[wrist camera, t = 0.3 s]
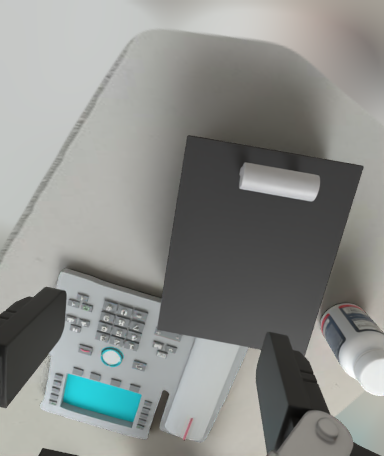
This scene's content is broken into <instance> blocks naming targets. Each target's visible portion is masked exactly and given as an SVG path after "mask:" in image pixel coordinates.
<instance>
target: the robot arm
mask: <svg viewBox="0 0 384 456" xmlns="http://www.w3.org/2000/svg"><path fill="white" fill-rule="evenodd" d="M66 300H67V293H66V291H65V290H60V289H55V288H50V287H45V288H44V289H42V290H41V291H40V292H39V293H38V294H37V295H35V296H34V297H26V298H24V299H22V300H19V301H17V302H15V303H14V304H13V305H11V306H10V307H9V308H8V309H6V311H4V312H3V313H1V314H0V407H3V408H7V406H8V405H9V404H10V403H11V401H12V400H13V399H14V397H15V396H16V395H17V394H18V392H19V391H20V390H21V388H22V387H23V386H24V385H25V383H26V382H27V381H28V380H29V378H30V377H31V376H32V374H33V373H34V372H35V371H36V369H37V368H38V367H39V366H40V364H41V363H42V362H43V360H44V359H45V358H46V357H47V355H48V354H49V353H50V351H51V350H52V349H53V348H54V346H55V345H56V344H57V343H58V341H59V340H60V338H61V336H62V333H63V330H64V326H65V314H66ZM256 385H257V391H258V398H259V404H260V411H261V418H262V424H263V431H264V437H265V444H266V450H267V455H266V456H380V455H378V454H376V453H374V452H372V451H370V450H368V449H365V448H363V447H361V446H359V445H357V444H356V443H354V442H353V440H352V436H351V434H350V432H349V431H348V429H347V428H346V427H345V426H344V425H343V424H342V423H341V422H340V421H339V420H338V419H336V418H335V417H333V416H332V415H330V412H329V410H328V408H327V405H326V403H325V400H324V398H323V395H322V393H321V390H320V388H319V385H318V384H317V380H316V378H315V375H313V370H312V368H311V365H310V363H309V361H308V360H307V359H306V358H305V357H304V356H303V354H302V353H301V352H300V351H295V350H293V349H292V346H291V343H290V341H289V338H288V336H287V335H283V334H278V333H273V332H267V333H266V336H265V339H264V343H263V346H262V350H261V353H260V357H259V360H258V364H257V369H256ZM39 456H77V455H73V454H68V453H63V452H59V451H54V450H49V449H45V448H43V449H42V450H41V452H40V454H39Z"/></svg>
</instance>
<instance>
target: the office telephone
mask: <svg viewBox="0 0 384 456" xmlns="http://www.w3.org/2000/svg"><path fill="white" fill-rule="evenodd" d="M56 289H60V290H65V291H66V293H67V300H66V314H65V326H64V330H63V333H62V336H61V338H60V340H59V341H58V343H57V344H56V345H55V346H54V348H53V349H52V350H51V351H50V353H49V355H51V363H50V369H49V375H48V381H47V386H46V391H45V396H44V399H43V401H42V402H41V404H40V407H41V409H42V410H44V411H47V412H50V413H53V414H57V415H60V416H63V417H66V418H70V419H73V420H76V421H79V422H83V423H86V424H89V425H93V426H96V427H100V428H103V429H106V430H110V431H113V432H117V433H120V434H123V435H127V436H131V437H135V438H139V439H144V440H146V439H148V436H149V432H150V426H151V423H152V420H153V417H154V414H155V411H156V408H157V406H158V403H159V400H160V397H161V394H162V391H163V390H166V391H167V392H168V393H169V396H168V399H167V402H166V405H165V408H164V412H163V415H162V418H161V423H160V430H161V431H163V432H166V433H169V434H172V435H175V436H178V437H181V438H183V440H185V439H188V440H192V441H196V442H203V441H204V440H206V438H207V436H208V434H209V433H210V431H211V429H212V427H213V425H214V422H215V420H216V418H217V416H218V413H219V411H220V408H221V407H222V406H223V404H224V402H225V400H226V398H227V395H228V393H229V391H230V389H231V386H232V384H233V382H234V380H235V377H236V375H237V373H238V371H239V368H240V366H241V364H242V362H243V359H244V357H245V355H246V353H247V350H248V348H249V347H244V346H239V345H234V344H229V343H223V342H218V341H213V340H207V339H202V338H197V337H192V336H186V335H181V334H176V333H171V332H165V331H160V330H157V325H158V319H159V312H160V306H161V300H162V299H161V298H158V297H155V296H151V295H148V294H145V293H141V292H138V291H135V290H131V289H128V288H125V287H122V286H118V285H115V284H112V283H109V282H106V281H103V280H100V279H98V278H96V277H93V276H90V275H87V274H83V273H80V272H77V271H74V270H71V269H67V268H65V269H64V270H62V271H61V273H60V274H59V277H58V281H57V287H56Z"/></svg>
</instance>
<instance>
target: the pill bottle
mask: <svg viewBox="0 0 384 456" xmlns="http://www.w3.org/2000/svg"><path fill="white" fill-rule="evenodd" d="M321 331H322V334H323V336H324V337H325V339H326V341H327V342H328V344H329V346H330V348H331V349H332V351H333V353H334V354H335V356H336V358H337V360H338V362H339V363H340V365H341V367H342V368H343V369H344V371H345V372H346V373H347V374H348V375H350V376H351V377H353V378H355V379H357V380H358V381H359V383H360V385H361V386H362V387H363V389H364V390H365V391H367V392H368V393H370V394H373V395H377V396H384V333H383V331H382V330H381V329H380V328H379V327H378V326H377V325H376V324H375V323H374V321H373V320H372V319H371V318H370V317H369V316H368V315H367V314H366V312H365V311H364V310H363V309H362V308H360V307H359V306H357V305H354V304H350V303H342V304H338V305H335V306H333V307H331V308H330V309H329V310H327V311H326V312H325V314H324V315H323V317H322V319H321Z"/></svg>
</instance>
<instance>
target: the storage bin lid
mask: <svg viewBox="0 0 384 456" xmlns="http://www.w3.org/2000/svg"><path fill="white" fill-rule="evenodd" d="M362 170H363V166H361V165H356V164H350V163H344V162H338V161H333V160H327V159H321V158H316V157H310V156H304V155H298V154H293V153H287V152H281V151H276V150H270V149H264V148H259V147H253V146H247V145H241V144H236V143H230V142H224V141H219V140H213V139H207V138H201V137H196V136H190V135H188V136H187V142H186V148H185V154H184V161H183V167H182V173H181V179H180V186H179V192H178V198H177V205H176V211H175V217H174V224H173V230H172V236H171V243H170V249H169V255H168V262H167V268H166V274H165V281H164V287H163V293H162V300H161V306H160V312H159V319H158V325H157V330H160V331H165V332H171V333H176V334H181V335H186V336H192V337H197V338H202V339H207V340H213V341H218V342H223V343H229V344H234V345H239V346H244V347H250V348H255V349H260V350H262V346H263V343H264V339H265V336H266V333H267V332H273V333H278V334H283V335H287V336H288V338H289V341H290V343H291V346H292V349H293V350H295V351H300V352H301V353H302V354H303V356H305V353H306V350H307V347H308V344H309V340H310V337H311V334H312V331H313V328H314V324H315V321H316V318H317V315H318V312H319V308H320V305H321V302H322V299H323V295H324V292H325V289H326V286H327V283H328V279H329V276H330V273H331V270H332V267H333V263H334V260H335V257H336V254H337V251H338V247H339V244H340V241H341V238H342V235H343V231H344V228H345V225H346V222H347V218H348V215H349V212H350V209H351V206H352V202H353V199H354V196H355V193H356V190H357V186H358V183H359V180H360V177H361V174H362Z"/></svg>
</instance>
